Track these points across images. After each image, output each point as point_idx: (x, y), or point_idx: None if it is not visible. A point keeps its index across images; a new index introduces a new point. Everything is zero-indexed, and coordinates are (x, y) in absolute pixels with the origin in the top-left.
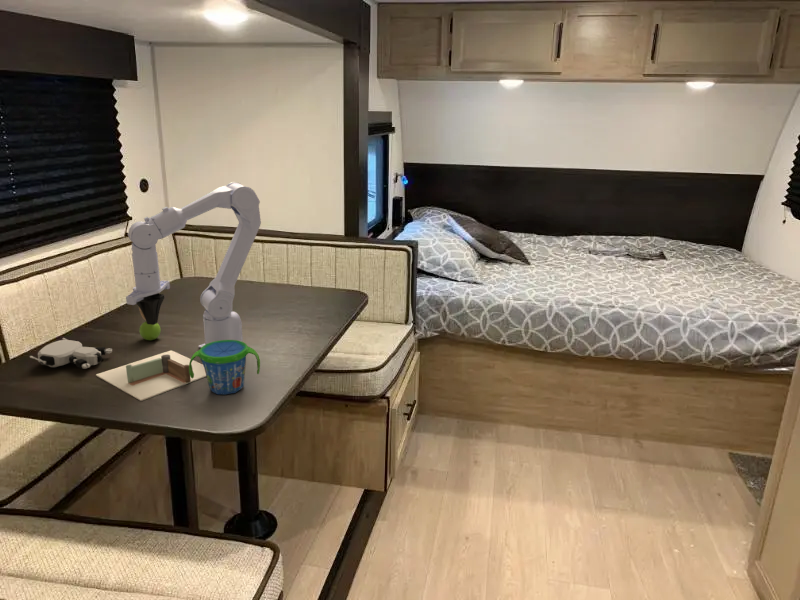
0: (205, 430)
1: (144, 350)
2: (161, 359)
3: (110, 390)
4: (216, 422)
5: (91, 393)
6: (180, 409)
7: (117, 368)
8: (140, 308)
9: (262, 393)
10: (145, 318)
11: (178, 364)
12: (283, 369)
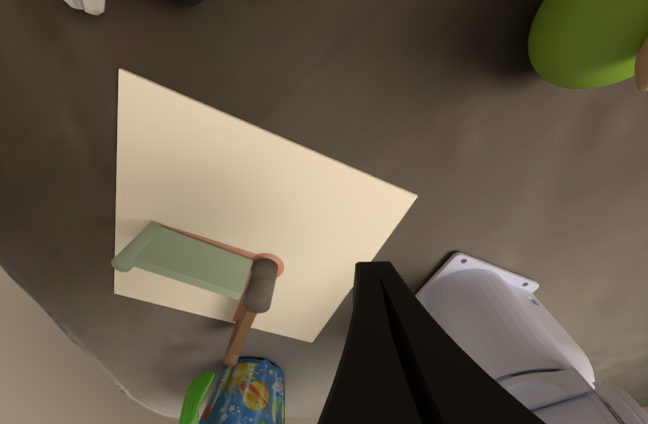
0: (126, 392)
1: (413, 89)
2: (239, 298)
3: (94, 198)
4: (153, 393)
5: (37, 160)
6: (147, 351)
7: (209, 116)
8: (336, 374)
9: None
10: (356, 289)
11: (237, 338)
12: None
